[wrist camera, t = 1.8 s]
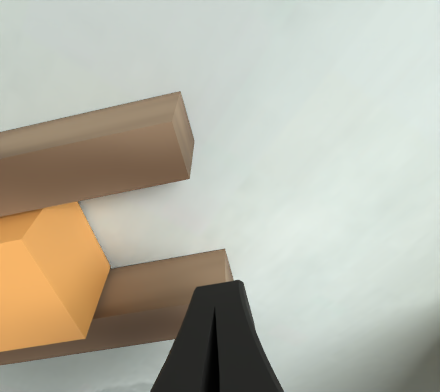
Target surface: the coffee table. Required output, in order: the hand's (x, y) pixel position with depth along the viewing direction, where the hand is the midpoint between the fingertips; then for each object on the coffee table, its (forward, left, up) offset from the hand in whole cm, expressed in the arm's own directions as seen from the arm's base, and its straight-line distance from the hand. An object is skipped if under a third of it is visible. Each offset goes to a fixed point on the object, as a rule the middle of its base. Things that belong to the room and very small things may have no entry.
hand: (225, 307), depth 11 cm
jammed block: (0, +9, -6) cm, 10 cm away
